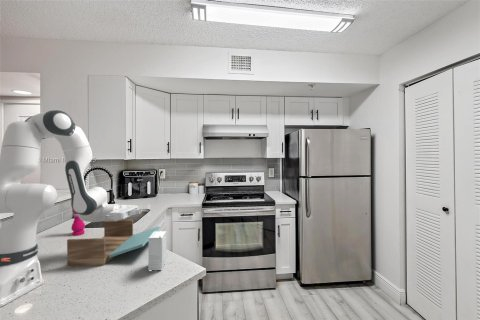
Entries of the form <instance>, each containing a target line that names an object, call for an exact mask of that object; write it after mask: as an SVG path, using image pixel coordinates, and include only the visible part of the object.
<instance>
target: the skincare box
mask: <svg viewBox="0 0 480 320" xmlns="http://www.w3.org/2000/svg"><path fill="white" fill-rule="evenodd" d="M147 254H148V261H147V262H148V266H147V269H148V270H161V269H162V270H164V268H165V265H166V263H165V261H166V262H167V231H165V230H161V231H159V230H158V231H154V232H153V233H152V234H151V236H150V237H149V241H148V253H147ZM164 264H165V265H164Z"/></svg>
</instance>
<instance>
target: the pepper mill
mask: <svg viewBox="0 0 480 320" xmlns="http://www.w3.org/2000/svg"><path fill="white" fill-rule="evenodd" d="M71 209H72V208H71ZM72 213H73V219H74V220H73V223H72V225H71V231H72V232H71V233H72V236H73V237H74V236H77V237H78V236H81V235H84V234H85V228H86V225H85V221H83V220H81V219H80V218H79V216H78V214H77V213H76V212H74V210H73V209H72Z"/></svg>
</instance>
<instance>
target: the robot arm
mask: <svg viewBox="0 0 480 320" xmlns="http://www.w3.org/2000/svg"><path fill="white" fill-rule="evenodd" d="M50 138H51V139H52V138H54V139H56V140H57V141H58V142H59V144H60V147H61V149H62V152H63V155H64V159H65V167H64V170H65V175H66V176H65V177H66V181H67V183H68V188H69V192H70V196H71V202H70V205H71V209H73V210H74V212H76V213H77V214H78V216H79V218H80V219H81V220H83V222H86V223H87V222H88V223H98V222H99V223H100V222H104V221H106V222H108V221H118V220H126V219H127V218H129V217H131V216H134V215H140V214H142V211H143V210H142V209H139V205H135V204H131V205H130V204H124V203H119V204H118V203H110V204H109V203H108V202H109V196H108V191H107V189H105V188H104V187H102V186H99V185H98V186H94V187H92V188H89V189H88V190H87V186H86V183H85V179H84V172H85V171H86V168H87V166H89V164H91V162H92V160H93V156H94V155H93V151H92V148H91V145H90V142H89V140H88V138H87V136H86V134H85V132H84V130H83V129H82V128H81V127H80V126H77V125H76V124H75V122H74V120H73V118H72V117H71V116H70V115H69V114H68V113H67V112H65V111H62V110H57V109H56V110H55V109H53V110H48V111H43V112H40V113H36V114H34V115H32V116H29V117H28V118H26V120H24V121H13V122H10V123H9V124H8V125H7V127H6V129H5V132H4V134H3V138H2V143H1V146H0V147H1V149H0V214H13V215H12V216H13V218H12V220H11V221H9V222H7V223H5V224H3V225H1V226H0V308H2V307H3V306H5V305H7V304H9V303H11V302H13V301H15V300H16V299H19V298H20V297H22V296H24V295H25V294H27V293H29V292H31V291H33V290H34V289H36V288H38V287H39V286H42V285H43V284H44V283H45V280H44V278H43V276H42V270H41V269H42V268H41V264H40V260H39V258H38V255H37V254H38V253H39V246H38V243H37V228H38V225H39V221H40V220H41V218H42V216H43V215H44V214H45V213H46V212H47V211H48V210H49V209H51V208H52V207H54V205H55V204H56V202H57V200H58V196H59V195H58V191H57V189H56V188H55V187H54V186H53V185H52V184H47V183H39V182H37V183H36V182H33V183H32V182H31V183H21V182H22V180H23V179H24V178H25V177H26V176H29V175H31V174H33V173H34V172H35V171H37V170H38V168H39V165H40V153H41V143H42V140H45V139H50Z"/></svg>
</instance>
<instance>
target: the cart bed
mask: <svg viewBox="0 0 480 320" xmlns="http://www.w3.org/2000/svg"><path fill="white" fill-rule="evenodd" d="M103 222H104V223H103V224H104V225H103V230H104V232H103V234H104V236H103V237H98V238H95V237H94V238H91V237H90V238H69V239H67V240H66V249H67V250H66V251H67V254H66V257H67V258H66V259H67V266H70V267H88V266H89V267H92V266H91V265H95V266H105V265H106V264H107V263H108V262H110V261H109V260H112V259H113V258H114V257H115V256H113V257H110V258H109V256H108V255H109V254H111V253H112V252H113V251H114V250H115V249H117V248H118V247H119V246H120V245H122V244H123V243H124V242H125V241H126V240H128V239H129V238H130V237H131V236H132V235H134V220H133V219H123V220H118V221H108V222H106V221H103Z"/></svg>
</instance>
